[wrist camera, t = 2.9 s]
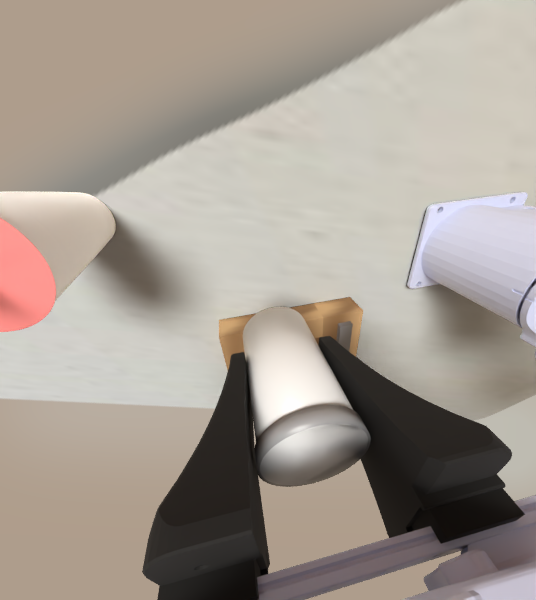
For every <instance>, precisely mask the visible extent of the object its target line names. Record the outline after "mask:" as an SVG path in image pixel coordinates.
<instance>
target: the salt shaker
mask: <svg viewBox="0 0 536 600" xmlns="http://www.w3.org/2000/svg"><path fill="white" fill-rule="evenodd" d="M243 344H244V352H245V359H246V365H247V373H248V382H249V390H250V398H251V406H252V414H253V421H254V429H255V436H256V445H255V459H256V467H257V473H258V476H259V477H260V478H261V479H262V480H263V481H265V482H267V483H269V484H272V485H276V486H286V487H288V486H289V487H291V486H302V485H307V484H312V483H316V482H319V481H322V480H325V479H328V478H330V477H333V476H335V475H337V474H339V473H341V472H343V471H344V470H346V469H348V468H349V467H351V466H352V465H353V464H355V463H356V462H357V461H358V460H359V459H360V458H361V457H362V456H363V455H364V454H365V453H366V451H367V450H368V448H369V445H370V441H371V437H370V434H369V432H368V430H367V428H366V426H365V425H364V423H363V421H362V419H361V417H360V416H359V414H358V413H357V412H355V411H354V410H353V408H352V407H351V405H350V403H349V401H348V399H347V397H346V395H345V394H344V392H343V390H342V388H341V386H340V384H339V383H338V381H337V379H336V377H335V375H334V373H333V371H332V370H331V368H330V366H329V364H328V362H327V360H326V359H325V357H324V355H323V353H322V351H321V349H320V347H319V346H318V344H317V342H316V340H315V338H314V336H313V335H312V333H311V331H310V329H309V327H308V325H307V323H306V322H305V320H304V318H303V317H302V315H301V314H300V313H298V312H297V311H295V310H294V309H291V308H288V307H271V308H267V309H264V310H262V311H260V312H258V313H257V314H255V315H254V316H253V317H252V318H251V319H250V320H249V321H248V322H247V324H246V326H245V328H244V331H243Z"/></svg>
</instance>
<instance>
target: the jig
mask: <svg viewBox="0 0 536 600" xmlns="http://www.w3.org/2000/svg"><path fill="white" fill-rule="evenodd" d="M291 309H294V310H295V311H297V312H298V313H300V314H301V315H302V317H303V318H304V320H305V322H306V323H307V325H308V327H309V329H310V331H311V333H312V335H313V336H314V338H315V340H316V342H317V344H318V346H319V338H320V337H325V336H331V337H332V338H333V339H335V340H336V341H337V342H338V343H339V344H340V345H342V346H343V347H344V348H345V349H347V350H348V351H349V352H350V353H351V354H353V355H354V356H355V357H356V353H357V347H358V340H359V334H360V328H361V321H362V315H363V310H362V309H361V308H360V307H359V306H358V305H357V304H356V303H355V302H354V301H353V300H352V299H351V298H350V297H348V298H342V299H336V300H331V301H325V302H319V303H313V304H308V305H302V306H296V307H291ZM254 315H255V314H251V315H245V316H239V317H234V318H228V319H222V320H219V339H220V343H221V346H222V350H223V354H224V358H225V362H226V365H227V369H229V365H230V358H231V355H232V354H235V353H240V352H244V344H243V331H244V328H245V326H246V324H247V322H248V321H249V320H250V319H251V318H252V317H253V316H254ZM244 354H245V352H244Z"/></svg>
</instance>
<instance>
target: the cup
mask: <svg viewBox="0 0 536 600" xmlns="http://www.w3.org/2000/svg"><path fill="white" fill-rule="evenodd" d="M115 229H116V224H115V220H114V217H113V215H112V213H111V211H110V210H109V209H108V207H107V206H106V205H105V204H104V203H103V202H101V201H100V200H99V199H97V198H95V197H93V196H91V195H89V194H85V193H79V192H0V332H8V331H15V330H20V329H24V328H27V327H30V326H32V325H34V324H36V323H38V322H39V321H41V320H42V319H43V318H45V317H46V316H47V315H48V313H49V312H50V311H51V309H52V307H53V305H54V302H55V301H56V299H57V298H58V297H59V296H60V295H61V294H62V293H63V292H64V291H65V290H66V288H67V287H68V286H69V285H70V284H71V283H72V282H73V281H74V280H75V279H76V277H77V276H78V275H79V274H80V273H81V272H82V271H83V270H84V269H85V268H86V266H87V265H88V264H89V263H90V262H91V261H92V260H93V259H94V258H95V256H96V255H97V254H98V253H99V252H100V251H101V250H102V249H103V248H104V246H105V245H106V244H107V243H108V242H109V240H110V239H111V238H112V237H113V235H114V233H115Z"/></svg>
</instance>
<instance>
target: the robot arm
mask: <svg viewBox="0 0 536 600" xmlns="http://www.w3.org/2000/svg"><path fill="white" fill-rule="evenodd" d="M526 199H527V193H525V192H518V193H510V194H503V195H495V196H488V197H481V198H473V199H466V200H459V201H451V202H444V203H437V204H432V205H430V206H429V207H428V208H427V210H426V214H425V218H424V222H423V226H422V229H421V233H420V237H419V241H418V245H417V249H416V252H415V256H414V260H413V264H412V268H411V272H410V275H409V279H408V283H407V286H408V287H409V288H411V289H414V288H420V287H426V286H431V285H437V284H442V285H444V286H446V287H447V288H449V289H451V290H453V291H455V292H457V293H458V294H460V295H462V296H464V297H466V298H468V299H470V300H471V301H473V302H475V303H477V304H479V305H481V306H482V307H484V308H486V309H488V310H490V311H492V312H493V313H495V314H497V315H499V316H501V317H503V318H505V319H506V320H508V321H510V322H512V323H514V324H516V325H517V326H519V327H521V328H522V333H521V335H520V338H521V339H522V340H524V341H526V342H527V343H529V344H531V345H533V346H534V347H536V207H535V206H527V205H524V203H525V201H526ZM438 209H439V211H438V212H437V210H438ZM319 347H320V349H321V351H322V353H323V355H324V357H325V359H326V360H327V362H328V364H329V366H330V368H331V370H332V371H333V373H334V375H335V377H336V379H337V381H338V383H339V384H340V386H341V388H342V390H343V392H344V394H345V395H346V397H347V399H348V401H349V403H350V405H351V407H352V408H353V410H354V411H355V412H357V413H358V414H359V416H360V417H361V419H362V421H363V423H364V425H365V426H366V428H367V430H368V432H369V434H370V437H371V441H370V445H369V448H368V450H367V451H366V453H365V454H364V455H363V456H362V457H361V458H360V459H361V461H362V463H363V466H364V469H365V471H366V474H367V477H368V479H369V482H370V485H371V488H372V490H373V493H374V496H375V499H376V501H377V504H378V507H379V510H380V513H381V515H382V519H383V522H384V525H385V527H386V531H387V534H388V536H389V538H388V539H385V540H381V541H378V542H375V543H371V544H368V545H364V546H361V547H358V548H355V549H351V550H348V551H344V552H341V553H338V554H334V555H331V556H327V557H324V558H321V559H317V560H314V561H311V562H307V563H304V564H300V565H297V566H293V567H290V568H287V569H283V570H280V571H277V572H274V573H270V574H268V567H269V565H270V561H269V554H268V546H267V540H266V532H265V525H264V517H263V510H262V503H261V495H260V487H259V480H258V473H257V467H256V459H255V448H254V431H253V414H252V406H251V398H250V390H249V382H248V373H247V365H246V359H245V354H244V352H240V353H235V354H232V355H231V358H230V365H229V369H228V373H227V377H226V380H225V383H224V387H223V390H222V393H221V395H220V398H219V401H218V403H217V406H216V408H215V411H214V413H213V415H212V418H211V420H210V422H209V424H208V427H207V428H206V430H205V432H204V434H203V436H202V438H201V440H200V442H199V444H198V446H197V448H196V450H195V451H194V453H193V455H192V457H191V458H190V460H189V461H188V463H187V465H186V466H185V468H184V470H183V472H182V473H181V475H180V476H179V478H178V480H177V481H176V482H175V484H174V486H173V487H172V488H171V490H170V491H169V493H168V494H167V496H166V497H165V499H164V500H163V502H162V503H161V504H160V506H159V508H158V510H157V512H156V515H155V518H154V522H153V525H152V528H151V532H150V535H149V539H148V543H147V549H146V555H145V561H144V566H143V571H142V572H143V574H144V575H145V576H146V578H148V579H150V580H151V581H153V582H155V583H156V584H158V585H160V587H159V593H158V600H305V599H308V598H311V597H314V596H317V595H321V594H324V593H327V592H330V591H333V590H337V589H340V588H342V587H346V586H349V585H352V584H355V583H359V582H362V581H365V580H369V579H372V578H375V577H378V576H381V575H385V574H388V573H391V572H394V571H397V570H401V569H404V568H407V567H410V566H413V565H416V564H420V563H423V562H426V561H429V560H432V559H435V558H439V557H442V556H445V555H448V554H451V553H455V552H458V551H461V550H462V551H461V555H460V556H458V557H455V558H453V559H450V560H448V561H446V562H443V563H441V564H439V566H438V568H437V569H436V570H434V571H433V572H432V573H430V574H429V575H427V576H425V577H424V582H425V584H426V586H427V588H428V590H429V591H428V592H425V593H421V594H418V595H415V596H412V597H409V598H405V599H402V600H536V495H534V496H530V497H527V498H523V499H520V500H517V501H513V500H512V499H511V497H510V496H509V495H508V494H507V493H506V492H505V491H504V489H503V488H504V487H505V483H504V482H503V481H502V480H501V479H500V478H499V477H498V475H497V473H498V472H499V471H500V470H501V469H502V468H503V467H504V466H505V465H506V464H507V463H508V462H509V460H510V459H511V456H512V452H511V450H510V449H509V448H508V447H507V446H506V445H505V444H504V443H503V442H502V441H501V440H500V439H499V438H498V437H497V436H496V435H495V434H494V433H493V432H492V431H491V430H490V429H489V428H487V427H486V426H484V425H482V424H479V423H477V422H474V421H472V420H469V419H467V418H464V417H462V416H459V415H457V414H454V413H452V412H450V411H447V410H445V409H443V408H441V407H439V406H436V405H434V404H432V403H430V402H428V401H426V400H424V399H422V398H420V397H418V396H416V395H414V394H412V393H410V392H408V391H407V390H405V389H403V388H401V387H399V386H398V385H396V384H394V383H393V382H391V381H390V380H388V379H386V378H385V377H383V376H382V375H380V374H379V373H377V372H376V371H374V370H373V369H371V368H370V367H369V366H367V365H366V364H364V363H363V362H362V361H361V360H359V359H358V358H357V357H355V356H354V355H353V354H351V353H350V352H349V351H348V350H347V349H345V348H344V347H343V346H342V345H340V344H339V343H338V342H337V341H336V340H335V339H333V338H332V337H331V336H325V337H320V338H319ZM535 359H536V349H535Z"/></svg>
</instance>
